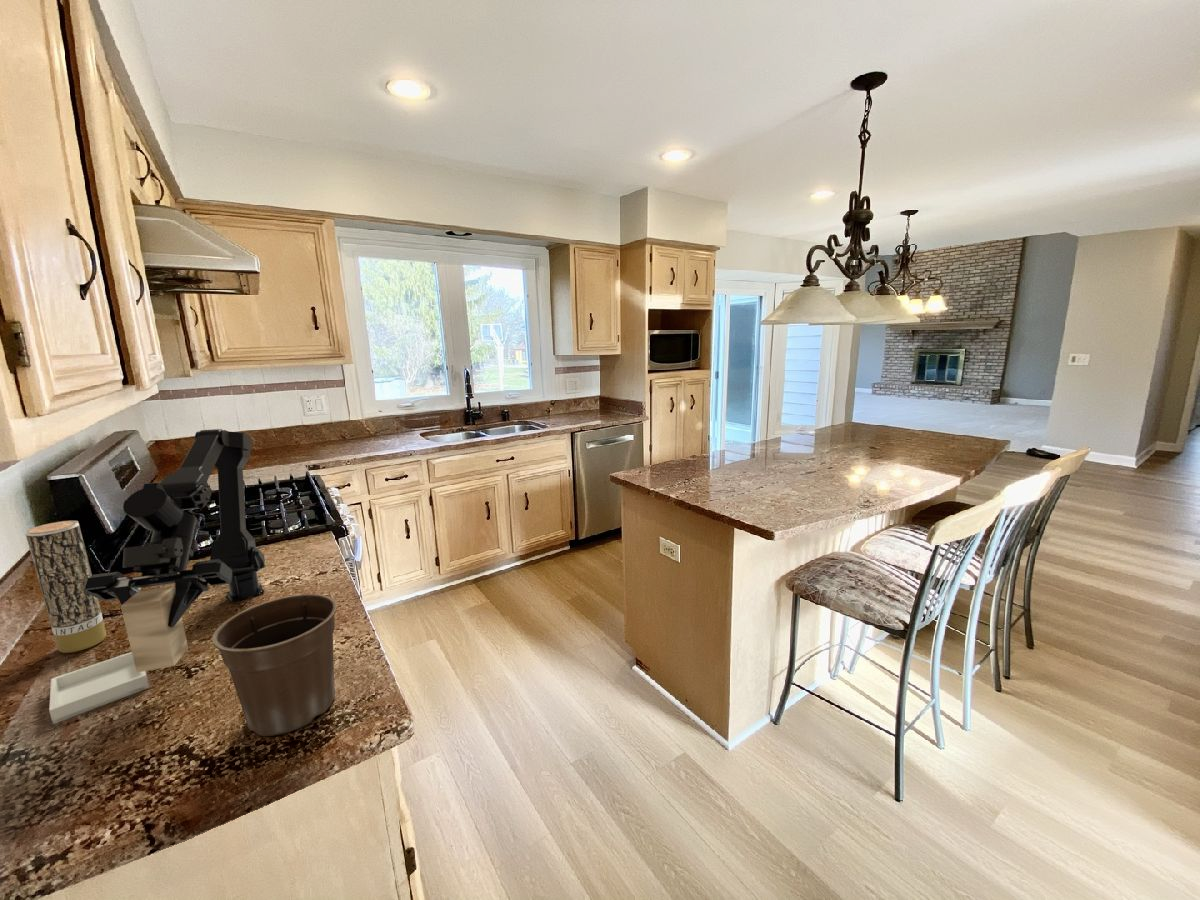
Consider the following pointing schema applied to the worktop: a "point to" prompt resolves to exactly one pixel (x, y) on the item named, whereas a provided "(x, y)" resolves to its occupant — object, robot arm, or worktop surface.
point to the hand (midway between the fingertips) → (150, 629)
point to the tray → (94, 687)
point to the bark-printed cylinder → (66, 585)
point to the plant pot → (281, 661)
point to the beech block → (153, 629)
